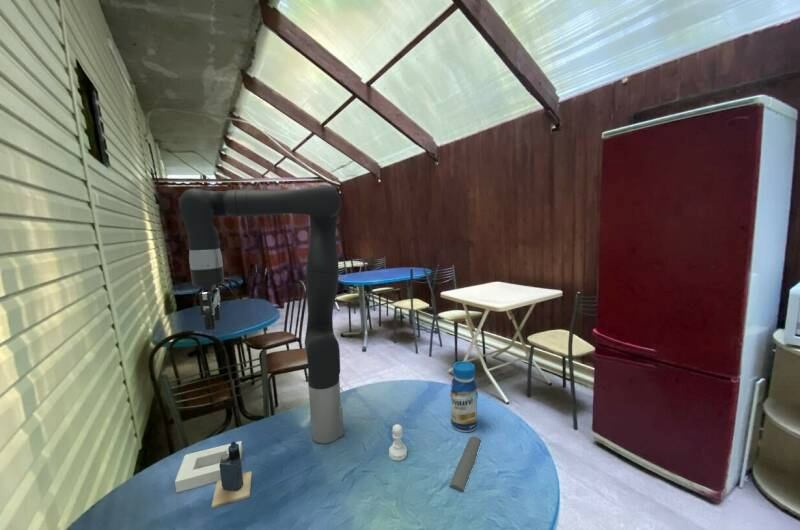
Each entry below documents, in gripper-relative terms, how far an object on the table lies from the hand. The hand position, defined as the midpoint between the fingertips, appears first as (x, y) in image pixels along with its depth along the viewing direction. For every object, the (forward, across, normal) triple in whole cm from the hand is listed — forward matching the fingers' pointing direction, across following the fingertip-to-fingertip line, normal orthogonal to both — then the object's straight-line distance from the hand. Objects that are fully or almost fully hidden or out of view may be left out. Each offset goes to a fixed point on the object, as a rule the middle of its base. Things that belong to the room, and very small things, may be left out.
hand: (213, 324), depth 88 cm
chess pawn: (+38, -21, -45) cm, 63 cm away
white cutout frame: (+38, -6, +3) cm, 39 cm away
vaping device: (+38, -16, -3) cm, 41 cm away
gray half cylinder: (+39, -31, -61) cm, 79 cm away
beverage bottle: (+38, -17, -69) cm, 81 cm away
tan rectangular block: (+38, -16, -3) cm, 41 cm away
